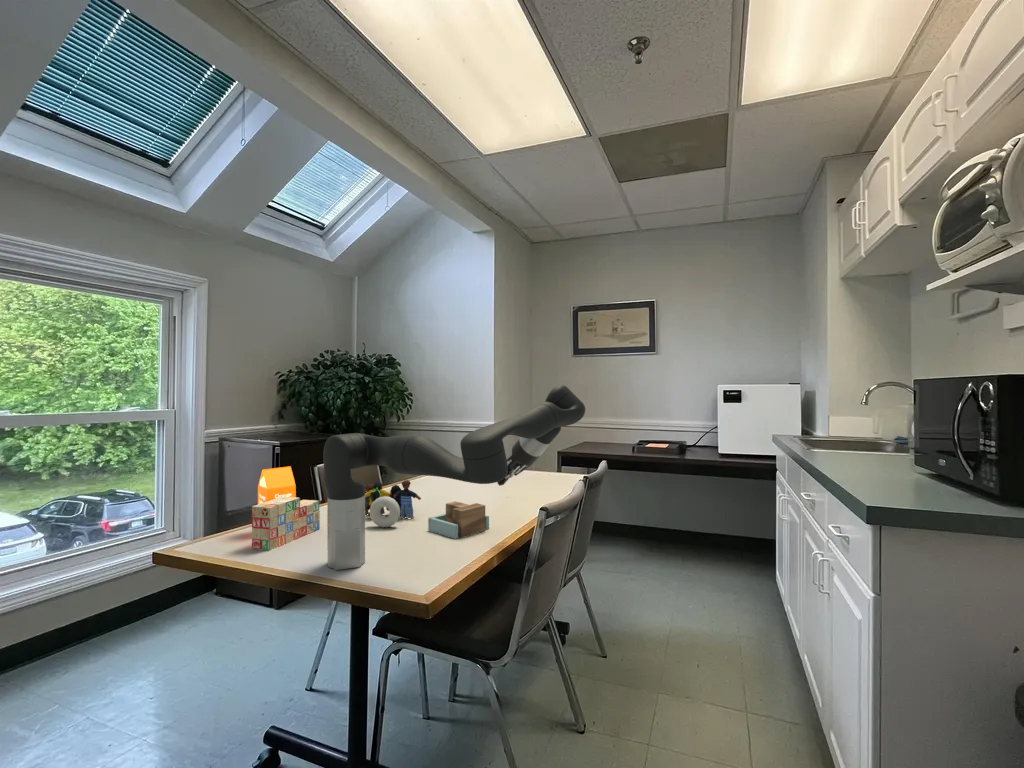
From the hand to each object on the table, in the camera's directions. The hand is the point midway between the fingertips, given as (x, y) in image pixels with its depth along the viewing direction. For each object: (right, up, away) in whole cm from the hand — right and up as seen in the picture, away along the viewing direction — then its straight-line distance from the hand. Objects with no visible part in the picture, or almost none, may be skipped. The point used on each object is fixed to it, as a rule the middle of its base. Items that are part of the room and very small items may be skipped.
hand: (499, 482), depth 144 cm
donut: (-37, -17, +14) cm, 44 cm away
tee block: (-12, -17, +11) cm, 24 cm away
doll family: (-39, -18, +27) cm, 51 cm away
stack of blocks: (-64, -18, +3) cm, 66 cm away
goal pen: (-13, -17, +11) cm, 25 cm away
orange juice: (-70, -17, +10) cm, 73 cm away
